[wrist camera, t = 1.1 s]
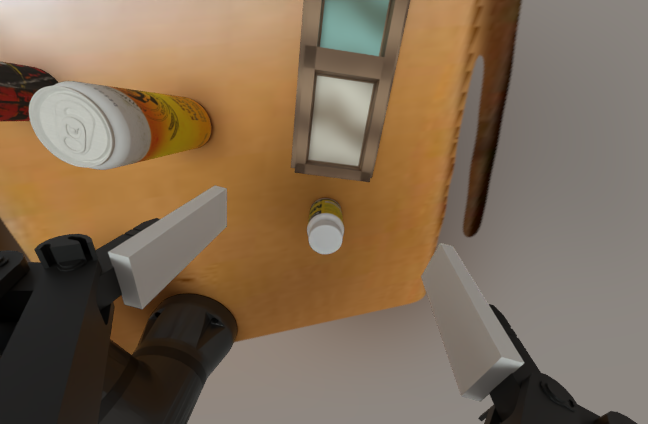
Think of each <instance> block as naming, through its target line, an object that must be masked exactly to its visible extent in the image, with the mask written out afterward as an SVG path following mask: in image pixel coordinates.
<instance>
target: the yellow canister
mask: <svg viewBox="0 0 648 424" xmlns="http://www.w3.org/2000/svg"><path fill="white" fill-rule="evenodd" d="M29 117H30V121H31V125H32V127H33V130H34V131H35V133H36V135H37V137H38V138H39V140H40V141H41V142H42V144H43V145H44V146H45V147H46V148H47V149H48V150H49V151H50V152H51V153H52V154H54V155H55V156H56V157H58V158H59V159H61V160H63V161H65V162H67V163H69V164H71V165H74V166H78V167H89V168H93V169H99V170H106V169H112V168H116V167H120V166H124V165H128V164H133V163H137V162H141V161H145V160H149V159H154V158H158V157H162V156H166V155H170V154H174V153H179V152H183V151H187V150H191V149H195V148H199V147H201V146H203V145H204V144H205V143H206V142H207V141H208V139H209V137H210V134H211V123H210V119H209V117H208V115H207V113H206V111H205V110H204V109H203V107H202V106H201V105H200V104H198V103H197V102H195V101H194V100H192V99H189V98H186V97H179V96H172V95H165V94H158V93H151V92H145V91H138V90H131V89H124V88H117V87H110V86H103V85H96V84H89V83H82V82H75V81H65V82H60V83H57V84H55V85H53V86H47V87H44V88H42V89H40V90H38V91H37V92H36V93H35V94H34V95H33V97H32V98H31V101H30V105H29Z"/></svg>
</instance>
